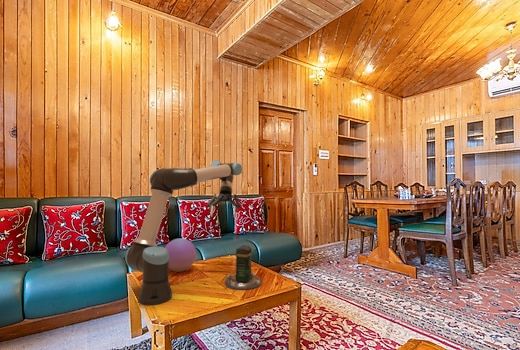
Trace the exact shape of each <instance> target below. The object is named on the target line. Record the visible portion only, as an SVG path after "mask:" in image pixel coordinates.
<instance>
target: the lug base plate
mask: <svg viewBox="0 0 520 350" xmlns="http://www.w3.org/2000/svg"><path fill="white" fill-rule="evenodd" d="M232 274H233V273H229V274H227V277H226V278H225V280H224V286H225V287H226V288H229V289H231V290H236V291H248V290H255V289H257V288H259V287H260V286H261V285H262V279H261V278H260V277H259V276H257V275H255V272H252V271H251V279H250V280H249V281H248V282H243V283H241V282H238V281H236V274H233V275H232Z"/></svg>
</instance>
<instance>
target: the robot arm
mask: <svg viewBox="0 0 520 350" xmlns="http://www.w3.org/2000/svg"><path fill="white" fill-rule="evenodd" d="M242 173H243V165H242V164H241V163H240V162H229V163H227V162H226V163H222V162H221V161H220V160H218V159H217V160H213V161H212V162H211V164H210V165H209V166H207V167H201V168H191V167H190V168H188V167H187V168H177V167H173V168H172V167H171V168H168V167H167V168H166V167H164V168H159V169H156V170H154V171H153V172H152V173H151V174H150V177H149V183H150V189H149V190H150V192H151V197H150V200H149V203H148V206H147V209H146V212H145V216H144V219H143V222H142V226H141V228H140V231H139V235H138V238H137V239H134V241H133V243H132V245H131V247H129V248H128V249H127V251H126V253H125V256H124V259H125V264H126V265H127V266H128V267H130V269H132V270H134V271H137V272H140V273H142V285H141V287H140V291H139V293H138V299H137V300H138V303H140V304H142V305H146V306H152V305H153V306H154V305H160V304H163V303H165V302H168V301H169V300H171V299H172V298H173V290H172V287H171V284H170V282H169V275H170V274H169V270H170V269H169V253H168V250H167V249H166V248H165V246H158V245H157V242H156V240H157V237H158V234H159V230H160V228H161V223H162V220H163V216H164V213H165V210H166V206H167V203H168V200H169V198H170V197H172V196H173V194H174V191H178V190H183V189H186V188H189V187H193V186H196V185H197V184H199V183H203V182H207V181H212V180H217V179H219V180H220V181H221V182H220V188H219V194H217V193H214V195H213V196H212V197H211V199H210V200H209V201H208V202H207V207H208V208H209V213H210V217H211V218H213V215H214V209H215V206H217V205H218V204H219V203H221V202H229V203H230V204H231V205H232V206H233V212H232V213H233V218H235V217H236V213H238V209H239V208H241V207H242V206H241V203H240V201H239V199H238V197H237V194H236V193H234V194H232V193H233V184H234V176H239V175H241V174H242Z"/></svg>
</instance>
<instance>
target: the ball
mask: <svg viewBox="0 0 520 350" xmlns="http://www.w3.org/2000/svg"><path fill="white" fill-rule="evenodd" d="M164 248H166V249H167V250H168V253H169V270H170V271H172V272H175V273H180V272H184V271H186V270H188V269H190V267H192V266H193V264H194V263H195V261H196V258H197V250H196V247H195V245H194V243H192V241H190V240H188V239H187V238H183V237H181V238H178V237H177V238H174V239H172V240H171V241H169V242H168V243H167V244H166V245H165V246H164Z"/></svg>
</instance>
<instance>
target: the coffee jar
mask: <svg viewBox="0 0 520 350" xmlns="http://www.w3.org/2000/svg"><path fill="white" fill-rule="evenodd" d="M235 258H236V259H235V261H236V262H235V275H236V281H238V282H241V283H243V282H248V281H249V280H250V279H251V272H252V247H251V246H250V245H246V244H245V245H244V244H243V245H240V246H239V247H238V248H236V250H235Z"/></svg>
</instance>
